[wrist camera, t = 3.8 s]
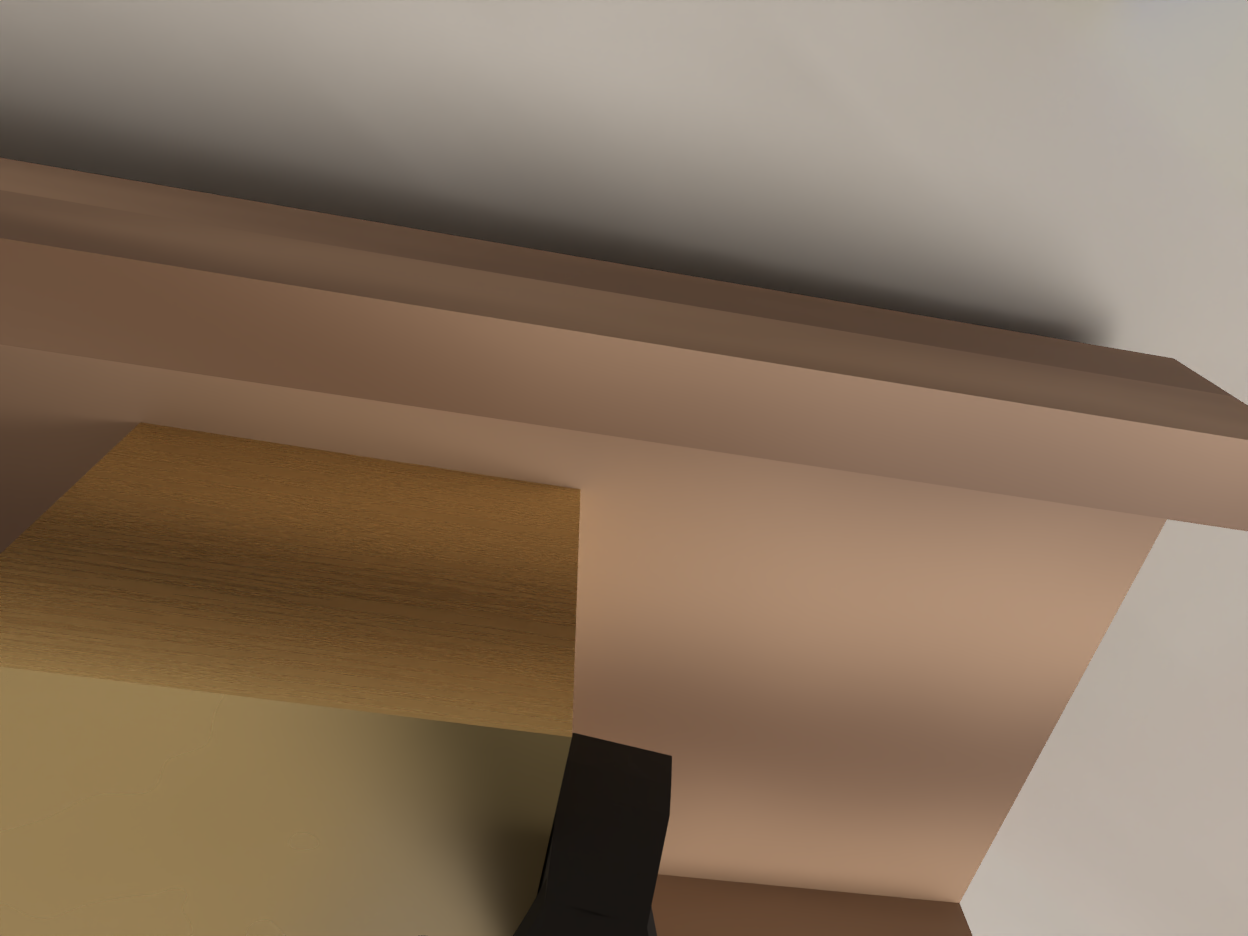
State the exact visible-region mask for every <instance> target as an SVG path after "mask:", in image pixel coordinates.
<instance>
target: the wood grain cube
mask: <svg viewBox="0 0 1248 936" xmlns="http://www.w3.org/2000/svg"><path fill="white" fill-rule="evenodd" d="M580 490H581V489H574V488H568V487H561V486H555V485H548V484H541V483H535V482H528V481H522V480H515V479H509V478H502V477H496V476H489V475H482V474H476V473H469V472H463V471H456V470H450V469H443V468H437V467H430V466H423V465H417V464H410V463H404V462H397V461H391V460H384V459H378V458H371V457H364V456H358V455H351V454H345V453H338V452H332V451H325V450H319V449H312V448H305V447H299V446H292V445H286V444H279V443H273V442H266V441H260V440H253V439H246V438H240V437H233V436H227V435H220V434H214V433H207V432H201V431H194V430H187V429H181V428H174V427H168V426H161V425H155V424H148V423H142V422H140V423H139V424H138V425H137V426H136V427H135V428H134V429H133V430H132V431H131V432H130V433H129V434H128V435H126V436H125V437H124V438H123V439H122V440H121V441H120V442H119V443H118V444H117V445H116V446H115V447H114V448H113V449H112V450H111V451H109V452H108V453H107V454H106V455H105V456H104V457H103V458H102V459H101V460H100V461H99V462H98V463H97V464H96V465H95V466H93V467H92V468H91V469H90V470H89V471H88V472H87V473H86V474H85V475H84V476H83V477H82V478H81V479H80V480H79V481H78V482H76V483H75V484H74V485H73V486H72V487H71V488H70V489H69V490H68V491H67V492H66V493H65V494H64V495H63V496H62V497H60V498H59V499H58V500H57V501H56V502H55V503H54V504H53V505H52V506H51V507H50V508H49V509H48V510H47V511H46V512H45V513H43V514H42V515H41V516H40V517H39V518H38V519H37V520H36V521H35V522H34V523H33V524H32V525H31V526H30V527H29V528H27V529H26V530H25V531H24V532H23V533H22V534H21V535H20V536H19V537H18V538H17V539H16V540H15V541H14V542H13V543H12V544H10V545H9V546H8V547H7V548H6V549H5V550H4V551H3V552H2V553H1V554H0V936H513V934H514V933H515V931H516V930H517V928H518V927H519V925H520V923H521V922H522V920H523V918H524V917H525V915H526V914H527V912H528V910H529V909H530V907H531V905H532V903H533V902H534V900H535V898H536V896H537V892H538V888H539V883H540V879H541V874H542V870H543V865H544V861H545V856H546V852H547V847H548V843H549V838H550V834H551V829H552V825H553V820H554V816H555V811H556V807H557V802H558V798H559V793H560V789H561V784H562V780H563V775H564V771H565V766H566V762H567V757H568V753H569V748H570V744H571V739H572V722H573V693H574V664H575V635H576V606H577V577H578V548H579V519H580Z"/></svg>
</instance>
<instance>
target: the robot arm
mask: <svg viewBox="0 0 1248 936" xmlns="http://www.w3.org/2000/svg"><path fill="white" fill-rule="evenodd" d="M671 779H672V756H671V755H667V754H662V753H658V752H654V751H650V750H645V749H641V748H637V747H633V746H628V745H624V744H620V743H616V742H611V741H607V740H603V739H599V738H594V737H590V736H586V735H582V734H577V733H573V734H572V739H571V744H570V748H569V753H568V757H567V762H566V766H565V771H564V775H563V780H562V784H561V789H560V793H559V798H558V802H557V807H556V811H555V816H554V820H553V825H552V829H551V834H550V838H549V843H548V847H547V852H546V856H545V861H544V865H543V870H542V874H541V879H540V883H539V888H538V892H537V896H536V898H535V900H534V902H533V903H532V905H531V907H530V909H529V910H528V912H527V914H526V915H525V917H524V918H523V920H522V922H521V923H520V925H519V927H518V928H517V930H516V931H515V933H514V934H513V936H657V932H656V927H655V922H654V917H653V912H652V901H653V896H654V891H655V886H656V881H657V876H658V871H659V866H660V861H661V856H662V851H663V846H664V841H665V837H666V832H667V827H668V822H669V816H670V801H671Z"/></svg>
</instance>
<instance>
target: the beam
mask: <svg viewBox="0 0 1248 936" xmlns="http://www.w3.org/2000/svg"><path fill="white" fill-rule="evenodd" d="M140 422H142V423H148V424H155V425H161V426H168V427H174V428H181V429H187V430H194V431H201V432H207V433H214V434H220V435H227V436H233V437H240V438H246V439H253V440H260V441H266V442H273V443H279V444H286V445H292V446H299V447H305V448H312V449H319V450H325V451H332V452H338V453H345V454H351V455H358V456H364V457H371V458H378V459H384V460H391V461H397V462H404V463H410V464H417V465H423V466H430V467H437V468H443V469H450V470H456V471H463V472H469V473H476V474H482V475H489V476H496V477H502V478H509V479H515V480H522V481H528V482H535V483H541V484H548V485H555V486H561V487H568V488H574V489H581V490H580V519H579V548H578V577H577V606H576V635H575V664H574V693H573V722H572V734H573V733H577V734H582V735H586V736H590V737H594V738H599V739H603V740H607V741H611V742H616V743H620V744H624V745H628V746H633V747H637V748H641V749H645V750H650V751H654V752H658V753H662V754H667V755H671V756H672V779H671V801H670V816H669V822H668V827H667V832H666V837H665V841H664V846H663V851H662V856H661V861H660V866H659V871H658V876H657V881H656V886H655V891H654V896H653V901H652V912H653V917H654V922H655V927H656V932H657V936H972V934H971V931H970V929H969V926H968V924H967V921H966V919H965V916H964V914H963V911H962V909H961V906H960V904H959V903H960V901H961V899H962V897H963V895H964V893H965V892H966V890H967V888H968V886H969V884H970V882H971V880H972V879H973V877H974V875H975V873H976V871H977V869H978V868H979V866H980V864H981V862H982V860H983V858H984V856H985V855H986V853H987V851H988V849H989V847H990V845H991V844H992V842H993V840H994V838H995V836H996V834H997V832H998V831H999V829H1000V827H1001V825H1002V823H1003V821H1004V819H1005V818H1006V816H1007V814H1008V812H1009V810H1010V808H1011V807H1012V805H1013V803H1014V801H1015V799H1016V797H1017V795H1018V794H1019V792H1020V790H1021V788H1022V786H1023V784H1024V783H1025V781H1026V779H1027V777H1028V775H1029V773H1030V771H1031V770H1032V768H1033V766H1034V764H1035V762H1036V760H1037V758H1038V757H1039V755H1040V753H1041V751H1042V749H1043V747H1044V746H1045V744H1046V742H1047V740H1048V738H1049V736H1050V734H1051V733H1052V731H1053V729H1054V727H1055V725H1056V723H1057V722H1058V720H1059V718H1060V716H1061V714H1062V712H1063V710H1064V709H1065V707H1066V705H1067V703H1068V701H1069V699H1070V697H1071V696H1072V694H1073V692H1074V690H1075V688H1076V686H1077V685H1078V683H1079V681H1080V679H1081V677H1082V675H1083V673H1084V672H1085V670H1086V668H1087V666H1088V664H1089V662H1090V661H1091V659H1092V657H1093V655H1094V653H1095V651H1096V649H1097V648H1098V646H1099V644H1100V642H1101V640H1102V638H1103V636H1104V635H1105V633H1106V631H1107V629H1108V627H1109V625H1110V624H1111V622H1112V620H1113V618H1114V616H1115V614H1116V612H1117V611H1118V609H1119V607H1120V605H1121V603H1122V601H1123V600H1124V598H1125V596H1126V594H1127V592H1128V590H1129V588H1130V587H1131V585H1132V583H1133V581H1134V579H1135V577H1136V575H1137V574H1138V572H1139V570H1140V568H1141V566H1142V564H1143V563H1144V561H1145V559H1146V557H1147V555H1148V553H1149V551H1150V550H1151V548H1152V546H1153V544H1154V542H1155V540H1156V539H1157V537H1158V535H1159V533H1160V531H1161V529H1162V527H1163V526H1164V524H1165V522H1166V520H1167V519H1170V520H1177V521H1183V522H1190V523H1197V524H1203V525H1210V526H1217V527H1223V528H1230V529H1237V530H1243V531H1248V405H1246V404H1244V403H1243V402H1241V401H1240V400H1238V399H1237V398H1235V397H1233V396H1232V395H1230V394H1229V393H1227V392H1225V391H1224V390H1222V389H1221V388H1219V387H1218V386H1216V385H1214V384H1213V383H1211V382H1210V381H1208V380H1207V379H1205V378H1203V377H1202V376H1200V375H1199V374H1197V373H1196V372H1194V371H1192V370H1191V369H1189V368H1188V367H1186V366H1185V365H1183V364H1181V363H1180V362H1178V361H1177V360H1175V359H1173V358H1167V357H1161V356H1155V355H1150V354H1144V353H1138V352H1132V351H1126V350H1120V349H1115V348H1109V347H1103V346H1097V345H1091V344H1085V343H1080V342H1074V341H1068V340H1062V339H1056V338H1050V337H1045V336H1039V335H1033V334H1027V333H1021V332H1015V331H1010V330H1004V329H998V328H992V327H986V326H980V325H974V324H969V323H963V322H957V321H951V320H945V319H939V318H934V317H928V316H922V315H916V314H910V313H904V312H899V311H893V310H887V309H881V308H875V307H869V306H864V305H858V304H852V303H846V302H840V301H834V300H829V299H823V298H817V297H811V296H805V295H799V294H794V293H788V292H782V291H776V290H770V289H764V288H758V287H753V286H747V285H741V284H735V283H729V282H723V281H718V280H712V279H706V278H700V277H694V276H688V275H683V274H677V273H671V272H665V271H659V270H653V269H648V268H642V267H636V266H630V265H624V264H618V263H613V262H607V261H601V260H595V259H589V258H583V257H577V256H572V255H566V254H560V253H554V252H548V251H542V250H537V249H531V248H525V247H519V246H513V245H507V244H502V243H496V242H490V241H484V240H478V239H472V238H467V237H461V236H455V235H449V234H443V233H437V232H432V231H426V230H420V229H414V228H408V227H402V226H396V225H391V224H385V223H379V222H373V221H367V220H361V219H356V218H350V217H344V216H338V215H332V214H326V213H321V212H315V211H309V210H303V209H297V208H291V207H286V206H280V205H274V204H268V203H262V202H256V201H251V200H245V199H239V198H233V197H227V196H221V195H215V194H210V193H204V192H198V191H192V190H186V189H180V188H175V187H169V186H163V185H157V184H151V183H145V182H140V181H134V180H128V179H122V178H116V177H110V176H105V175H99V174H93V173H87V172H81V171H75V170H70V169H64V168H58V167H52V166H46V165H40V164H34V163H29V162H23V161H17V160H11V159H5V158H0V554H1V553H2V552H3V551H4V550H5V549H6V548H7V547H8V546H9V545H10V544H12V543H13V542H14V541H15V540H16V539H17V538H18V537H19V536H20V535H21V534H22V533H23V532H24V531H25V530H26V529H27V528H29V527H30V526H31V525H32V524H33V523H34V522H35V521H36V520H37V519H38V518H39V517H40V516H41V515H42V514H43V513H45V512H46V511H47V510H48V509H49V508H50V507H51V506H52V505H53V504H54V503H55V502H56V501H57V500H58V499H59V498H60V497H62V496H63V495H64V494H65V493H66V492H67V491H68V490H69V489H70V488H71V487H72V486H73V485H74V484H75V483H76V482H78V481H79V480H80V479H81V478H82V477H83V476H84V475H85V474H86V473H87V472H88V471H89V470H90V469H91V468H92V467H93V466H95V465H96V464H97V463H98V462H99V461H100V460H101V459H102V458H103V457H104V456H105V455H106V454H107V453H108V452H109V451H111V450H112V449H113V448H114V447H115V446H116V445H117V444H118V443H119V442H120V441H121V440H122V439H123V438H124V437H125V436H126V435H128V434H129V433H130V432H131V431H132V430H133V429H134V428H135V427H136V426H137V425H138V424H139V423H140Z"/></svg>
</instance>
